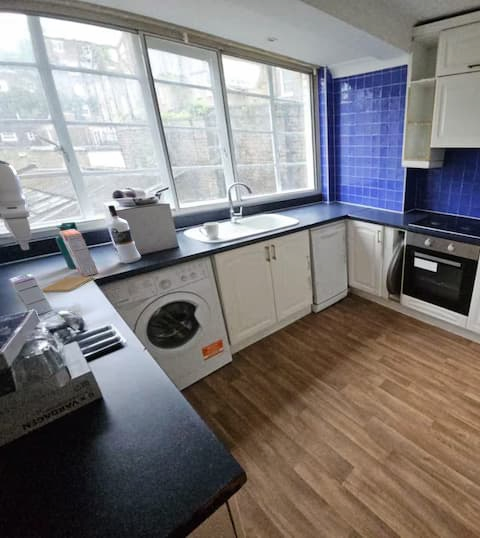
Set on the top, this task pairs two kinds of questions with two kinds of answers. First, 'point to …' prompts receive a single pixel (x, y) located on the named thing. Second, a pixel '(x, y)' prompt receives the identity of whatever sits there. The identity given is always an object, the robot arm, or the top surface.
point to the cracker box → (79, 252)
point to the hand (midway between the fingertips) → (23, 246)
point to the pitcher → (62, 245)
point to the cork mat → (66, 284)
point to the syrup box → (30, 293)
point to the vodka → (122, 238)
